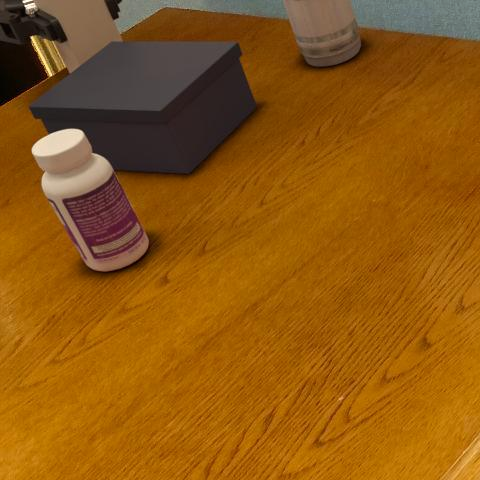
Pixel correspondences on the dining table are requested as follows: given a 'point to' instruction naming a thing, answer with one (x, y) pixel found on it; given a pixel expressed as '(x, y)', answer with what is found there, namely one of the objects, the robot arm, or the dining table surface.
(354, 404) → the dining table surface
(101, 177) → the pill bottle
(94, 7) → the cream box
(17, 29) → the robot arm
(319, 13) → the camera lens
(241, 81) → the storage box
